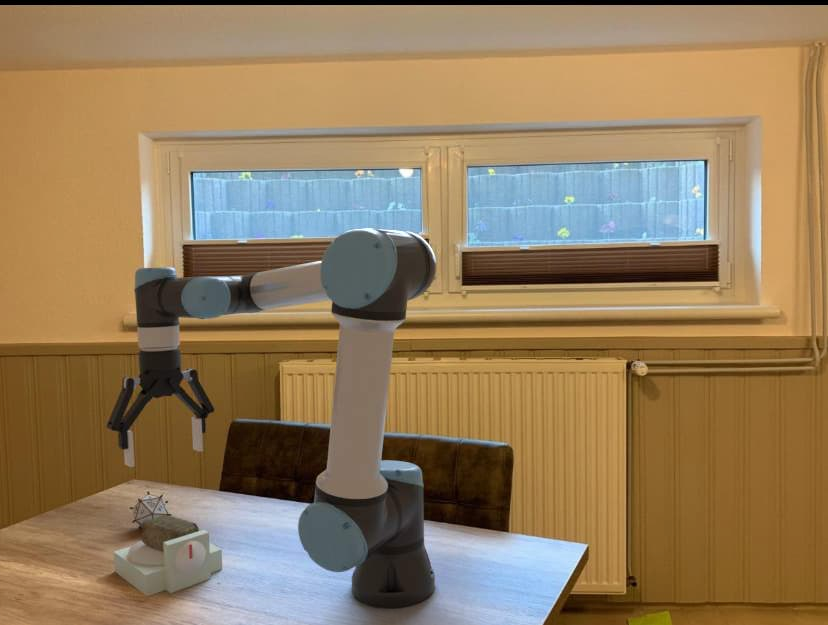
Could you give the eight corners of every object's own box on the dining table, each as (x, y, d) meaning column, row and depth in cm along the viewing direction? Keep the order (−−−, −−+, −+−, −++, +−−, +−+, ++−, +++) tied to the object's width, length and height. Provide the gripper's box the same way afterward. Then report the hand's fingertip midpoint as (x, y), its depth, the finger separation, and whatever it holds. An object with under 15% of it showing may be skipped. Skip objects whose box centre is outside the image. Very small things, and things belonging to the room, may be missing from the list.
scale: (229, 573, 131) (227, 527, 130) (153, 601, 120) (150, 552, 120) (186, 547, 143) (184, 506, 143) (114, 571, 133) (112, 526, 132)
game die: (161, 542, 156) (185, 508, 155) (130, 542, 149) (155, 506, 148) (146, 515, 161) (169, 482, 160) (114, 514, 154) (139, 479, 153)
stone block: (177, 558, 127) (176, 532, 126) (139, 546, 133) (137, 521, 132) (202, 547, 131) (201, 521, 131) (164, 536, 138) (162, 512, 137)
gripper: (210, 340, 141) (214, 441, 142) (83, 353, 123) (90, 468, 125) (228, 343, 135) (233, 447, 137) (99, 357, 118) (105, 476, 119)
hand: (165, 457), depth 131 cm, fingers open, 13 cm apart
